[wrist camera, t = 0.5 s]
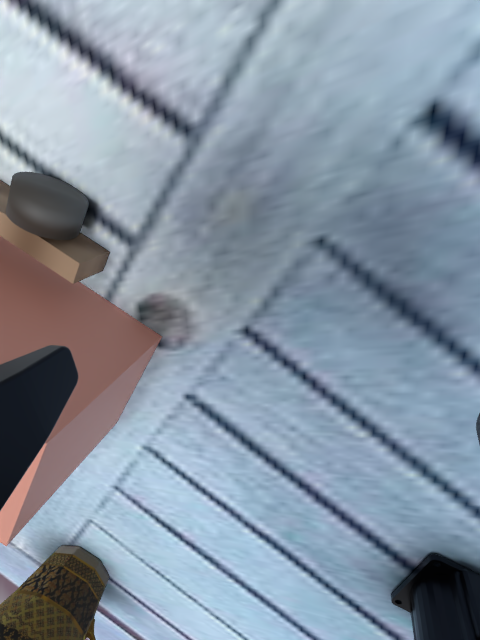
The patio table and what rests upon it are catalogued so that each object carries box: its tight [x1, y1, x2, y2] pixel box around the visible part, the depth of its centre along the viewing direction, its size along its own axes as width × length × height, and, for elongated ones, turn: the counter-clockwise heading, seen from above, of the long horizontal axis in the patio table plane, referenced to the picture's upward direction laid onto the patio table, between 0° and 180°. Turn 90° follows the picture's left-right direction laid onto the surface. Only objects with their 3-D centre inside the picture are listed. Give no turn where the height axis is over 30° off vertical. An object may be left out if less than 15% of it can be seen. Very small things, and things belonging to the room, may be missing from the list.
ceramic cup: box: [0, 545, 109, 640], centre depth 36 cm, size 13×10×10 cm
